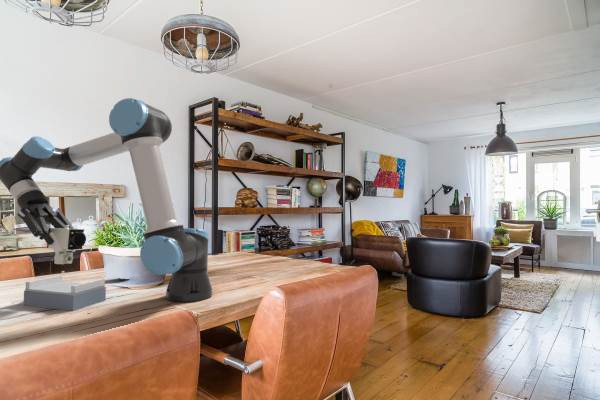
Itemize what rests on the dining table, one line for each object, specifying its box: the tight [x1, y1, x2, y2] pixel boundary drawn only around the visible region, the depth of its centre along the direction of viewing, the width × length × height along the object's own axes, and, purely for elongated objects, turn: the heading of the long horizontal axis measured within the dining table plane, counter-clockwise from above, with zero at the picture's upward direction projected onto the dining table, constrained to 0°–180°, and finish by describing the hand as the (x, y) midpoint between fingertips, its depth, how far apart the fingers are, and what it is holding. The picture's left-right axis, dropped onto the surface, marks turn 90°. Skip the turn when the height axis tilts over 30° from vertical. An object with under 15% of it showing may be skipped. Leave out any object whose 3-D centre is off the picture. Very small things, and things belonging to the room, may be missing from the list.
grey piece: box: [23, 274, 107, 312], centre depth 114 cm, size 22×12×7 cm, turn 75°
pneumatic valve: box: [46, 225, 87, 265], centre depth 113 cm, size 6×12×12 cm, turn 74°
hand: (68, 249), depth 113 cm, fingers closed on pneumatic valve, 5 cm apart
